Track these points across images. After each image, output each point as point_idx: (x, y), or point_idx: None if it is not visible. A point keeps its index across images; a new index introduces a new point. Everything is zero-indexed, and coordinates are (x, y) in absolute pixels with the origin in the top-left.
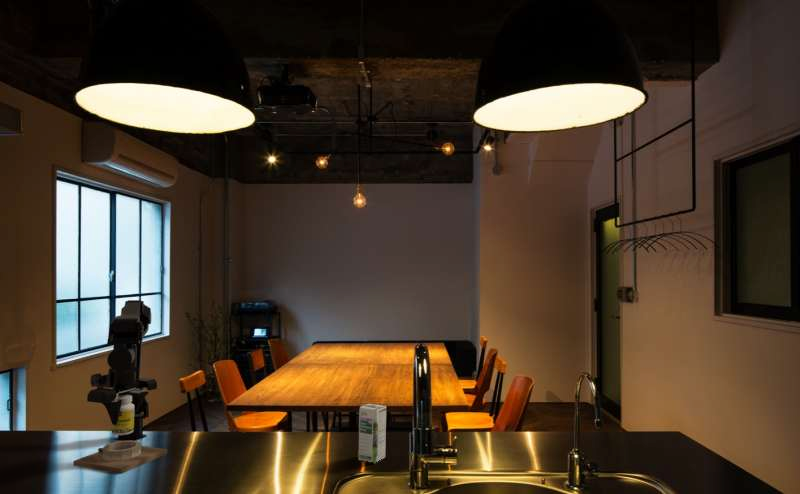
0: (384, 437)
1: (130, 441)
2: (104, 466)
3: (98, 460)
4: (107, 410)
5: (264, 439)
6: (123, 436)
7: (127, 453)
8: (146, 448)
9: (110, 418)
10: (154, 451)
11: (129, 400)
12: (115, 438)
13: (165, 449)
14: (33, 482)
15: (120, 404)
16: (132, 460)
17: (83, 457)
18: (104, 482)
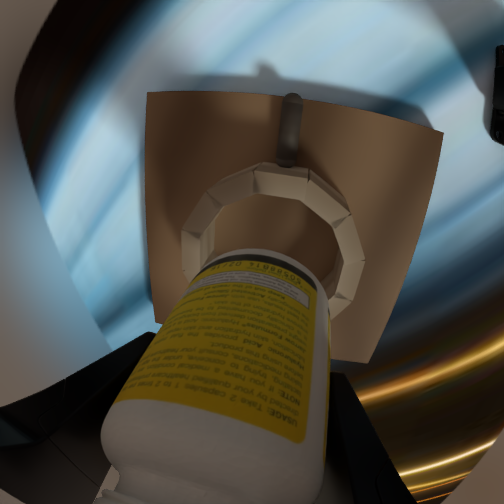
0: None
1: (346, 264)
2: (149, 259)
3: (183, 192)
4: (45, 393)
5: (454, 449)
6: (501, 101)
7: None
8: (377, 294)
9: (110, 356)
10: (342, 339)
11: None
12: (500, 51)
13: (368, 358)
14: (37, 119)
15: (84, 499)
16: None
17: (193, 94)
18: (106, 303)
